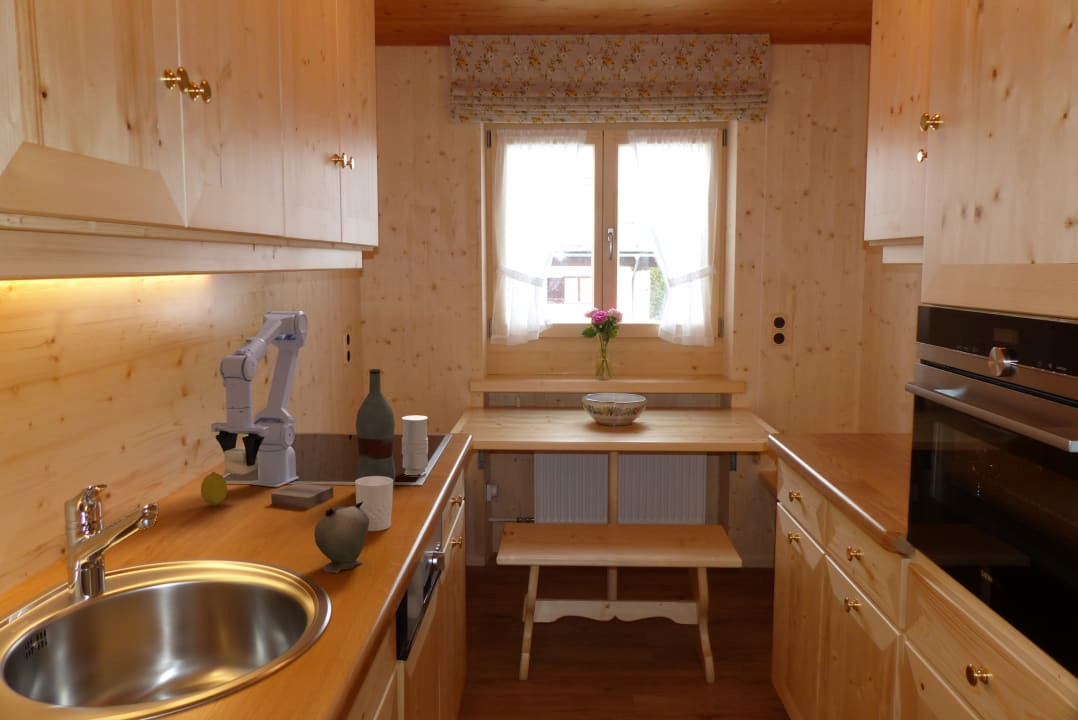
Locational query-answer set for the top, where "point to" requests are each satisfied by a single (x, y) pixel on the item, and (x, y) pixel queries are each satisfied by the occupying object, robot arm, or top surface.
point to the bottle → (375, 433)
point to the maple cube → (237, 461)
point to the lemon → (214, 489)
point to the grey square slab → (302, 495)
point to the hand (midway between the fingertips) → (241, 464)
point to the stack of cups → (414, 444)
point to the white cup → (375, 500)
